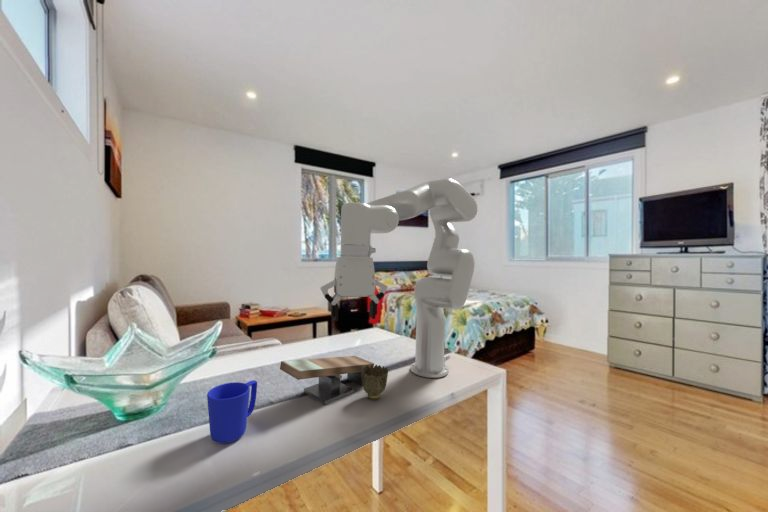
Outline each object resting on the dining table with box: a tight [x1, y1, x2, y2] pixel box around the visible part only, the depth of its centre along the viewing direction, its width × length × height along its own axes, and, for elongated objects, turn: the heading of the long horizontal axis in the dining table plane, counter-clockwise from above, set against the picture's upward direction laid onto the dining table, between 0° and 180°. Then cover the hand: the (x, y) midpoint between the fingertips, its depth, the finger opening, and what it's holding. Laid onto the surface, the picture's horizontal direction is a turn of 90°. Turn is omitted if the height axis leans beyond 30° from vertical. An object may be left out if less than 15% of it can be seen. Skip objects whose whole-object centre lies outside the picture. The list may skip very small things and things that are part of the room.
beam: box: [279, 355, 375, 380], centre depth 89 cm, size 26×10×3 cm, turn 136°
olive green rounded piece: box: [361, 364, 389, 401], centre depth 87 cm, size 8×7×8 cm
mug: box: [206, 379, 258, 444], centre depth 70 cm, size 8×12×10 cm
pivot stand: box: [303, 372, 363, 405], centre depth 92 cm, size 18×10×5 cm, turn 136°
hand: (354, 318), depth 81 cm, fingers open, 9 cm apart
